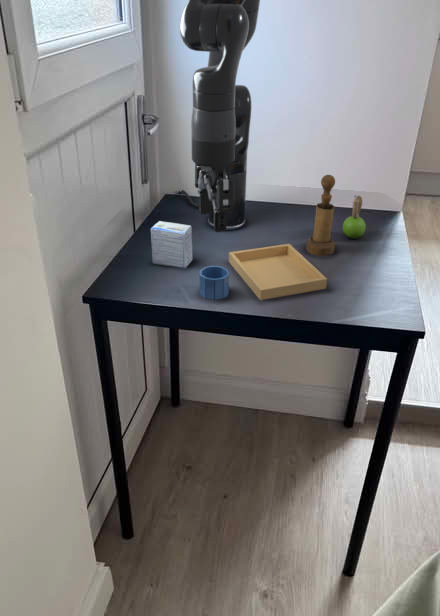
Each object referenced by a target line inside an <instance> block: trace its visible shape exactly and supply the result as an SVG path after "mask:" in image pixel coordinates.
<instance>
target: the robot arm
mask: <svg viewBox="0 0 440 616" xmlns="http://www.w3.org/2000/svg"><path fill="white" fill-rule="evenodd" d="M260 5H261V0H188V1H187V3H186V5H185V6H184V8H183V11H182V13H181V16H180V22H179V32H180V38H181V40H182V42H183V44H184V45H185V47H187V49H189V50H192V51H195V52H208V60H207V66H205V67H201V68H198V69H195V71H194V72H193V74H192V113H191V126H190V127H191V129H190V130H191V161H192V162H193V163H194V165H195V166H194V187H195V189H197V194H198V196H199V198H198V199H199V201H198V203H199V204H198V203H196V202H194V200H193V198H191V196H190V195H189V194H188V193H187V191H185V190H184V189H181V190H182V191H181V192H180V190H179V191H178V192H177V194H178V195H181V194H182V195H184V196H185V197H186V199H187V200H188V201H189V203H190V204H191V205H192V206H193V207H195V208H197V209H198V210H199V213H200V214H201V215H208V217H207V224H208V226H210V227H211V228H213V230H214V232H216V233H221V232H226V231H233V230H238V229H241V228H243V227H244V226H245V224H246V219H245V218H246V197H247V171H248V170H247V169H248V150H249V144H250V131H251V130H250V128H251V118H252V97H251V92H250V90H249V88H248V87H247V86H246V85H245V84H244V85H243V84H236V81H237V76H238V71H239V66H240V61H241V57H242V54H243V51H244V50H245V49H246V47H247V46H248V45H249V43H250V42H251V40H252V38H253V37H254V36H255V35H254V34H255V32H256V29H257V24H258V18H259V17H258V16H259V10H260Z"/></svg>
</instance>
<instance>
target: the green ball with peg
mask: <svg viewBox="0 0 440 616" xmlns="http://www.w3.org/2000/svg"><path fill="white" fill-rule="evenodd" d="M353 197H354V199H353V201H352V203H353V204H352V211H351V216H348V217H346V218H345V220H344V221H343V223H342V232H343V234H344V235H345V236H346V238H349V239H358V238H360V237H362V236H363V235H364V234H365V232H366V228H367V227H366V222H365V220H364V219H363V218H362V217H360V213H361V210H362V206H363V197H362V196H361V195H360V194H354V195H353Z"/></svg>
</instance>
